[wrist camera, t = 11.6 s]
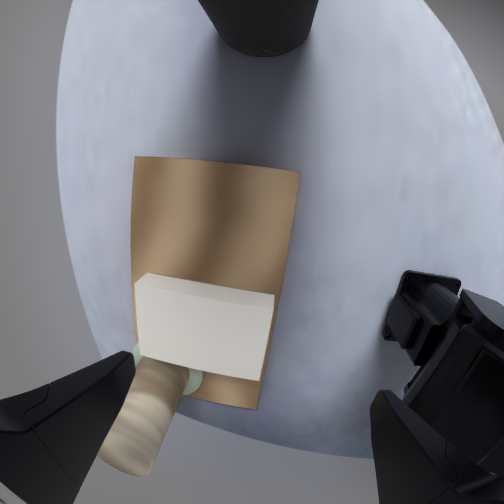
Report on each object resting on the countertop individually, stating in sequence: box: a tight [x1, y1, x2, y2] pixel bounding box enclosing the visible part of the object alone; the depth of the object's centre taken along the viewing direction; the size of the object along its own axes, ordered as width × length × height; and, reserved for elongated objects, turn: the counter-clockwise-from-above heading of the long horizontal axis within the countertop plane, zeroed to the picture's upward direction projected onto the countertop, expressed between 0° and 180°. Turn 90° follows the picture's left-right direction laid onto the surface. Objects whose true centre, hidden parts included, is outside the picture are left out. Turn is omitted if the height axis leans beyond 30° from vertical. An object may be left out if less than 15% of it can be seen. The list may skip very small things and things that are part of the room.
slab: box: [135, 273, 274, 381], centre depth 19 cm, size 9×6×4 cm, turn 83°
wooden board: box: [131, 156, 300, 409], centre depth 22 cm, size 13×22×2 cm, turn 173°
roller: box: [97, 356, 190, 477], centre depth 18 cm, size 5×5×11 cm
